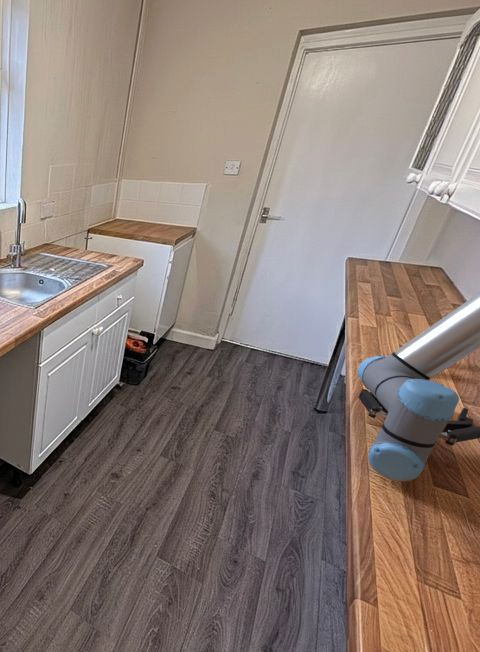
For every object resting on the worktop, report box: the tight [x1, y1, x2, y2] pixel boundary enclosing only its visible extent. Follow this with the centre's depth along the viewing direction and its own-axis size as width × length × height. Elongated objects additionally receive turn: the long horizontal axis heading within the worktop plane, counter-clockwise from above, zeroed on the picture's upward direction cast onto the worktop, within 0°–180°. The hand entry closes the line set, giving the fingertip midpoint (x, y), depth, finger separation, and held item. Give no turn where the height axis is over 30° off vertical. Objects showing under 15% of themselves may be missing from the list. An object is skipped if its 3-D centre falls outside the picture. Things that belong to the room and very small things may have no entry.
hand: (421, 400), depth 101 cm, fingers open, 13 cm apart
